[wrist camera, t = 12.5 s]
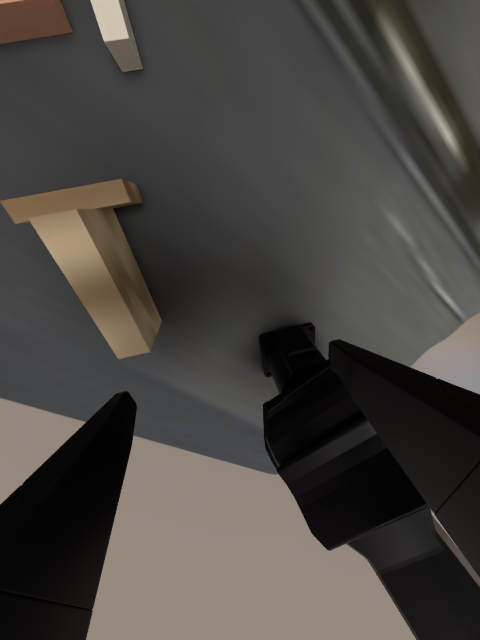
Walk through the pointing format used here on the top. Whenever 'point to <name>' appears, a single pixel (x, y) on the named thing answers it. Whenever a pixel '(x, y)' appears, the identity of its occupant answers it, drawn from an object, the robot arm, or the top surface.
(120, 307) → the scraper
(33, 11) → the tile
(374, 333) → the top surface
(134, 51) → the corral
